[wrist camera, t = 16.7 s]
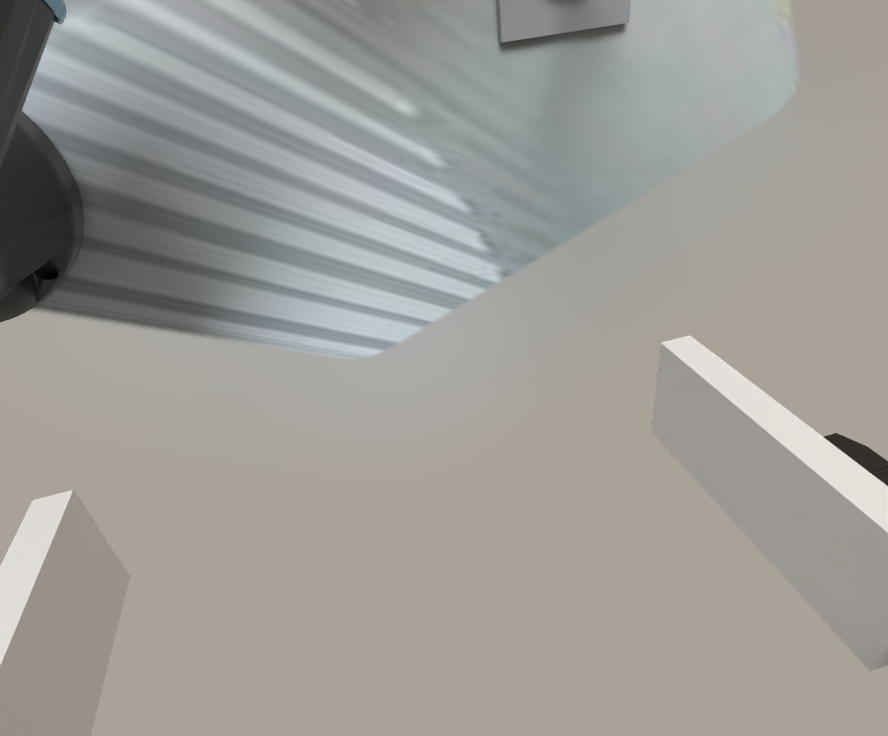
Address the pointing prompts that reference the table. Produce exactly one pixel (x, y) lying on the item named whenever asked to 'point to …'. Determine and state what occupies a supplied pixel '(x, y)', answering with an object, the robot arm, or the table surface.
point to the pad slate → (556, 16)
